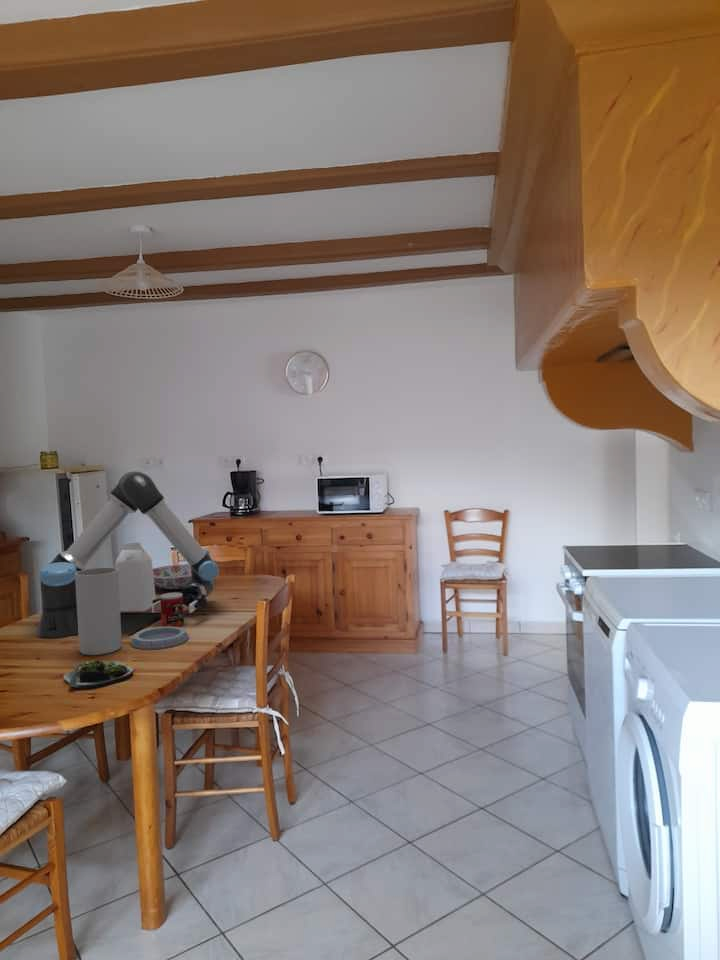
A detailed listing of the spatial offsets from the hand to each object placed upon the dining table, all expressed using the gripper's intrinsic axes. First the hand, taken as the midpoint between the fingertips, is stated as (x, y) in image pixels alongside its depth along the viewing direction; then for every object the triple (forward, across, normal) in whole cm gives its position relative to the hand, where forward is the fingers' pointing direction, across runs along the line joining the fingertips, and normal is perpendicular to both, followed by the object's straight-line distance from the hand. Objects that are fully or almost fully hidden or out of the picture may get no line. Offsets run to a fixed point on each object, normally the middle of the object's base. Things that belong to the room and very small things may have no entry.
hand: (171, 608), depth 234 cm
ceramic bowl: (-62, +22, -7) cm, 65 cm away
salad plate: (+50, +1, -7) cm, 51 cm away
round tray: (+17, -3, -6) cm, 18 cm away
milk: (-27, +26, -7) cm, 38 cm away
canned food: (-2, 0, -7) cm, 7 cm away
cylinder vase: (+26, +13, -7) cm, 30 cm away
